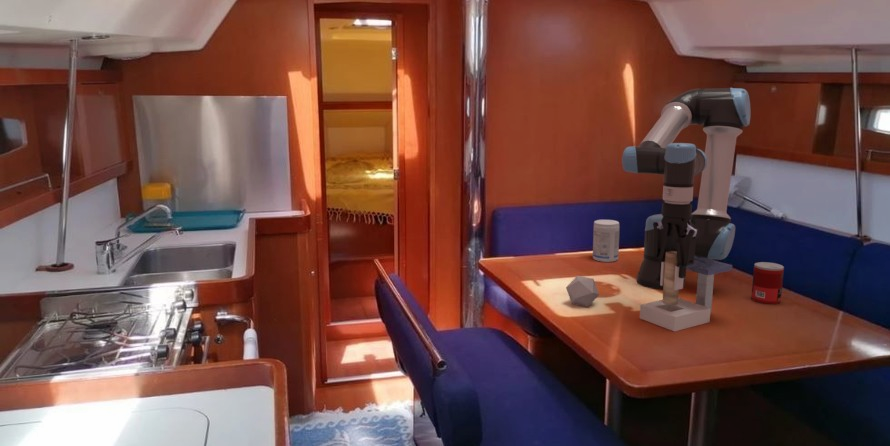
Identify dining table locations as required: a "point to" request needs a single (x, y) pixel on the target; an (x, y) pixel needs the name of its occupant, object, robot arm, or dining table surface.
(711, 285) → the slate blue panel
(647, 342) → the dining table surface
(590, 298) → the die
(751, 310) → the dining table surface
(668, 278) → the peg
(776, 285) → the canned food
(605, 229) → the supplement tub
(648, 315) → the socket block
